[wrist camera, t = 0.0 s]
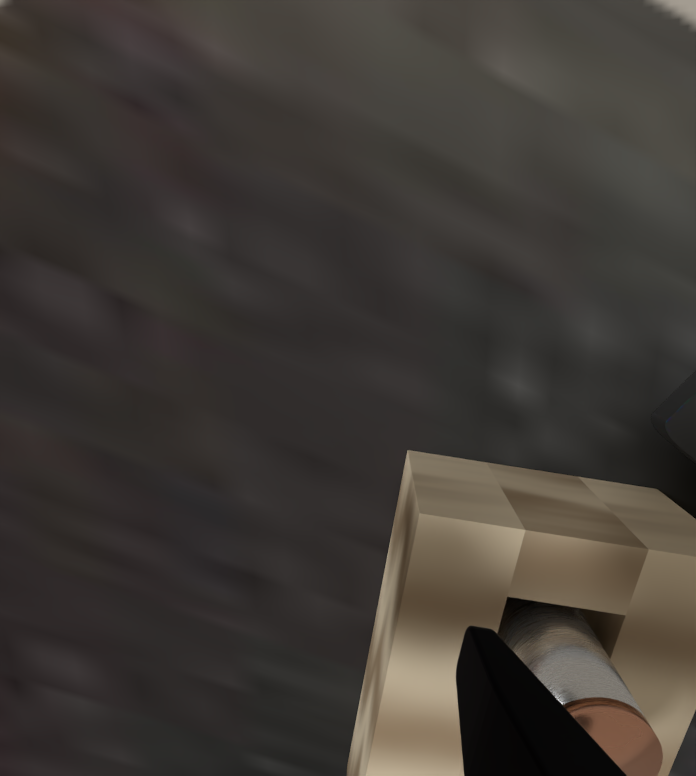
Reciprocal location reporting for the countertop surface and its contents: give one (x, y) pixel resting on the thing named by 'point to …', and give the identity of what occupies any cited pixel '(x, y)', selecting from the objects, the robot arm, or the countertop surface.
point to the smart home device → (679, 418)
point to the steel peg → (582, 680)
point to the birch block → (524, 581)
